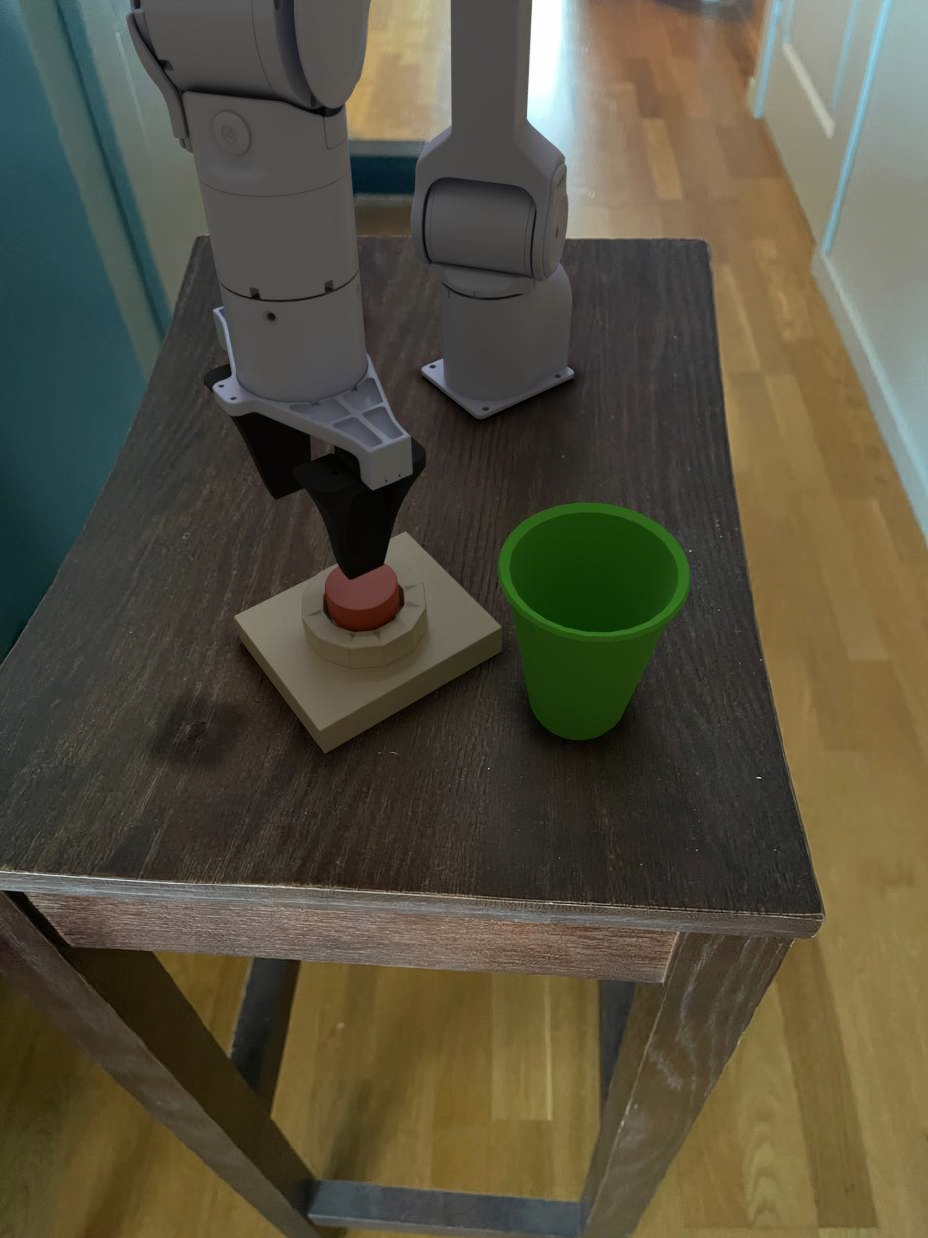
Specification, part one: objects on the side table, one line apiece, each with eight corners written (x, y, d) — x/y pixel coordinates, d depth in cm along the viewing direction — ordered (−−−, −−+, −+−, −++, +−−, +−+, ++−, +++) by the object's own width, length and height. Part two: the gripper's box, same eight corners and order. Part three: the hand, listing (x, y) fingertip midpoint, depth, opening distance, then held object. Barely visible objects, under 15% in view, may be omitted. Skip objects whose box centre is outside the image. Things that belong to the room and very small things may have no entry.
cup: (540, 621, 55) (550, 479, 47) (682, 680, 52) (720, 539, 44) (465, 728, 50) (461, 591, 42) (617, 801, 47) (646, 668, 39)
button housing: (408, 555, 59) (403, 509, 56) (502, 651, 54) (503, 605, 51) (240, 640, 55) (226, 594, 52) (324, 754, 49) (314, 711, 46)
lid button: (375, 569, 53) (372, 547, 52) (413, 610, 51) (411, 588, 50) (315, 599, 52) (311, 578, 50) (352, 643, 50) (348, 621, 48)
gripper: (127, 232, 40) (193, 485, 49) (284, 375, 31) (326, 645, 41) (273, 195, 43) (308, 441, 52) (452, 318, 34) (455, 582, 44)
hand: (324, 527), depth 47 cm, fingers open, 7 cm apart
